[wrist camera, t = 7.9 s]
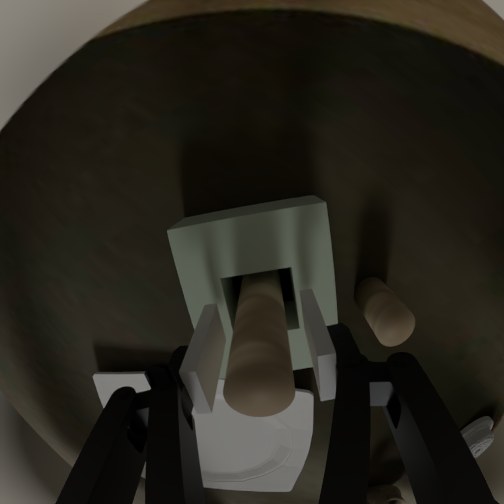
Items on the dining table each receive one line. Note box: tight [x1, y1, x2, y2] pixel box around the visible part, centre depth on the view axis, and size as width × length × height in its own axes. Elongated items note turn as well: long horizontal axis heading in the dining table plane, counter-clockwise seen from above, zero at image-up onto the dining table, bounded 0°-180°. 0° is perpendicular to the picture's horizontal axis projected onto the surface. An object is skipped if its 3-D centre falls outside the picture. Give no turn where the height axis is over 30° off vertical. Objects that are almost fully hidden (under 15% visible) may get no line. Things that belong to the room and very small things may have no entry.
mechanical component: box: [460, 416, 494, 458], centre depth 29 cm, size 10×4×10 cm
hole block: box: [167, 195, 338, 379], centre depth 21 cm, size 10×12×4 cm
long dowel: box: [223, 269, 295, 417], centre depth 17 cm, size 3×3×13 cm
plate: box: [93, 371, 313, 492], centre depth 29 cm, size 24×24×3 cm
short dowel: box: [354, 277, 415, 346], centre depth 21 cm, size 3×3×6 cm
